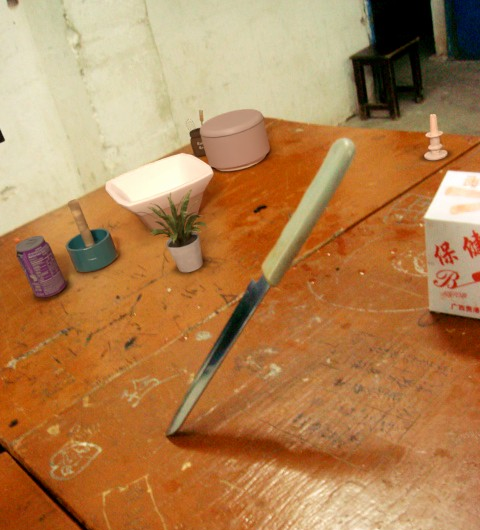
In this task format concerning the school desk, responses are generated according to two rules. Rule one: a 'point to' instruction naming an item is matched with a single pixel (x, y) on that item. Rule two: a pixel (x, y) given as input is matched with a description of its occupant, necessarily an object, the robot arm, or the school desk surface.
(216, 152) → the container
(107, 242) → the mixing bowl
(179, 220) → the house plant
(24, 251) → the beverage can
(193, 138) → the utensil holder
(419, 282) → the school desk surface
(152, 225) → the bowl
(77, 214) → the muddler
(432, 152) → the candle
